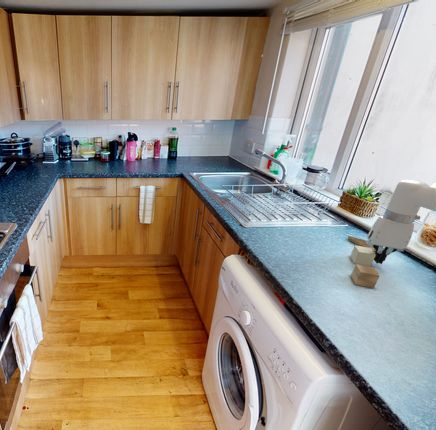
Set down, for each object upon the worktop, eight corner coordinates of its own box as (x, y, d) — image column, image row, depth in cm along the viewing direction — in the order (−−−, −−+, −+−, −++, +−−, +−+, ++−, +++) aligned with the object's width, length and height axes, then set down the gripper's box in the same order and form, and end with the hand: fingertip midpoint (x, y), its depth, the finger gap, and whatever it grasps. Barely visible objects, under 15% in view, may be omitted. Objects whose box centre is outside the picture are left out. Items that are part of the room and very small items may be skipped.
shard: (346, 238, 123) (347, 235, 122) (362, 238, 123) (364, 234, 123) (367, 252, 113) (369, 248, 112) (385, 252, 114) (387, 248, 113)
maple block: (368, 279, 97) (374, 267, 95) (373, 288, 93) (380, 275, 91) (350, 275, 99) (355, 263, 97) (355, 284, 94) (360, 271, 92)
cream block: (365, 259, 108) (370, 248, 106) (370, 266, 104) (376, 254, 102) (349, 256, 110) (354, 245, 108) (353, 263, 106) (358, 251, 104)
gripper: (421, 216, 98) (398, 261, 105) (367, 208, 103) (349, 252, 111) (433, 225, 92) (408, 272, 99) (375, 216, 97) (355, 262, 104)
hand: (377, 261), depth 105 cm, fingers closed
